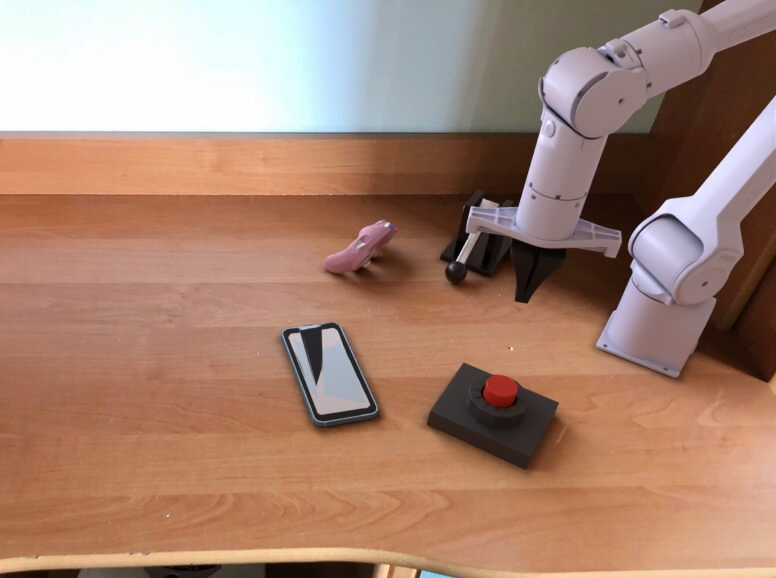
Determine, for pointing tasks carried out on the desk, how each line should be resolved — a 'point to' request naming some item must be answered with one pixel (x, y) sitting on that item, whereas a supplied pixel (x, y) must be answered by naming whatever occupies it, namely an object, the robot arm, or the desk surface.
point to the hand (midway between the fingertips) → (521, 297)
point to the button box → (492, 417)
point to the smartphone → (328, 374)
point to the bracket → (479, 243)
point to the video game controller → (361, 248)
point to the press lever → (466, 252)
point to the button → (500, 391)
